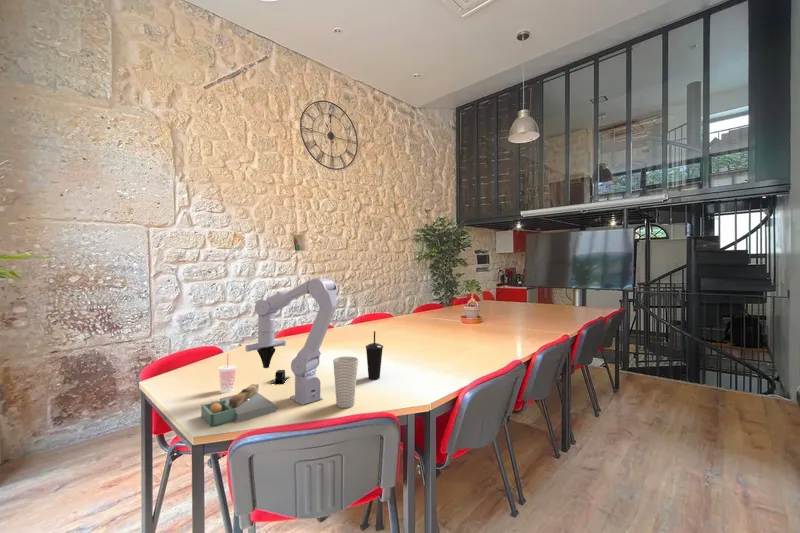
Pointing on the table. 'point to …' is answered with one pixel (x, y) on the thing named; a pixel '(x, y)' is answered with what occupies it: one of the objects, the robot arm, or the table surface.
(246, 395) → the lever
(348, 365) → the cup
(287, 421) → the table surface
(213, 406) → the ball
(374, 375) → the drinking cup
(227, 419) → the teal dish
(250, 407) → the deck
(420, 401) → the table surface
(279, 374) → the black blocky device
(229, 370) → the beverage cup
